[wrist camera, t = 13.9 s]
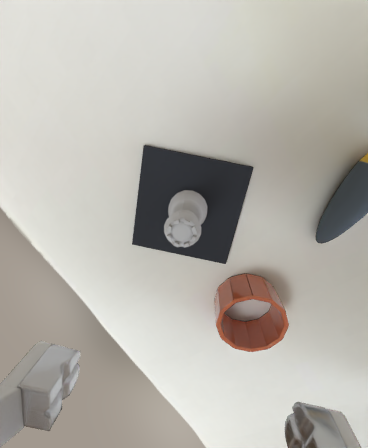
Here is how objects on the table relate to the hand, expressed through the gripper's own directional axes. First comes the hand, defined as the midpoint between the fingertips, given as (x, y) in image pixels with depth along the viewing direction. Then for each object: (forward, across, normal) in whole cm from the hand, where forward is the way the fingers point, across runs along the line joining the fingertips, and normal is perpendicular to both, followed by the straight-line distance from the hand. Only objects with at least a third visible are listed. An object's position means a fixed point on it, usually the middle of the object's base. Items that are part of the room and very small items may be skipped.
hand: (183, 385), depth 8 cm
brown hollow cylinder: (+20, +8, -10) cm, 24 cm away
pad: (+20, -2, +1) cm, 20 cm away
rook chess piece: (+19, -2, +2) cm, 20 cm away
